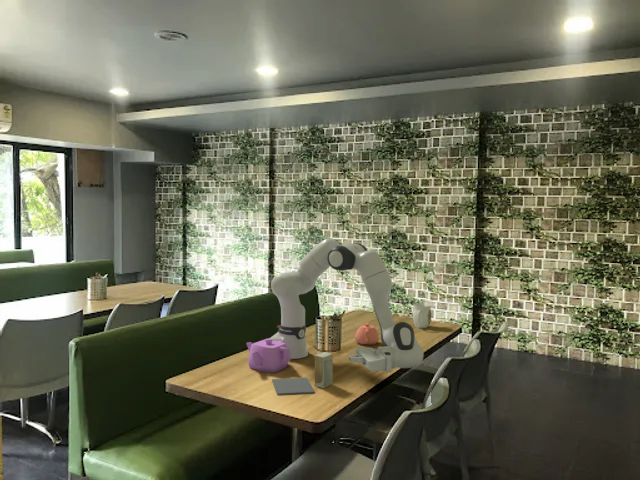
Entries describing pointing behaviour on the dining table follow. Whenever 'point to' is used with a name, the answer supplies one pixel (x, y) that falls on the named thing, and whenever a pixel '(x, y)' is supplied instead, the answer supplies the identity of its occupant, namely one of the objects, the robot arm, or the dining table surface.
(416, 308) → the pitcher
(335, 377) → the dining table surface
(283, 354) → the teakettle
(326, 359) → the skincare box
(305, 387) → the mat
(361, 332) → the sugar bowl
